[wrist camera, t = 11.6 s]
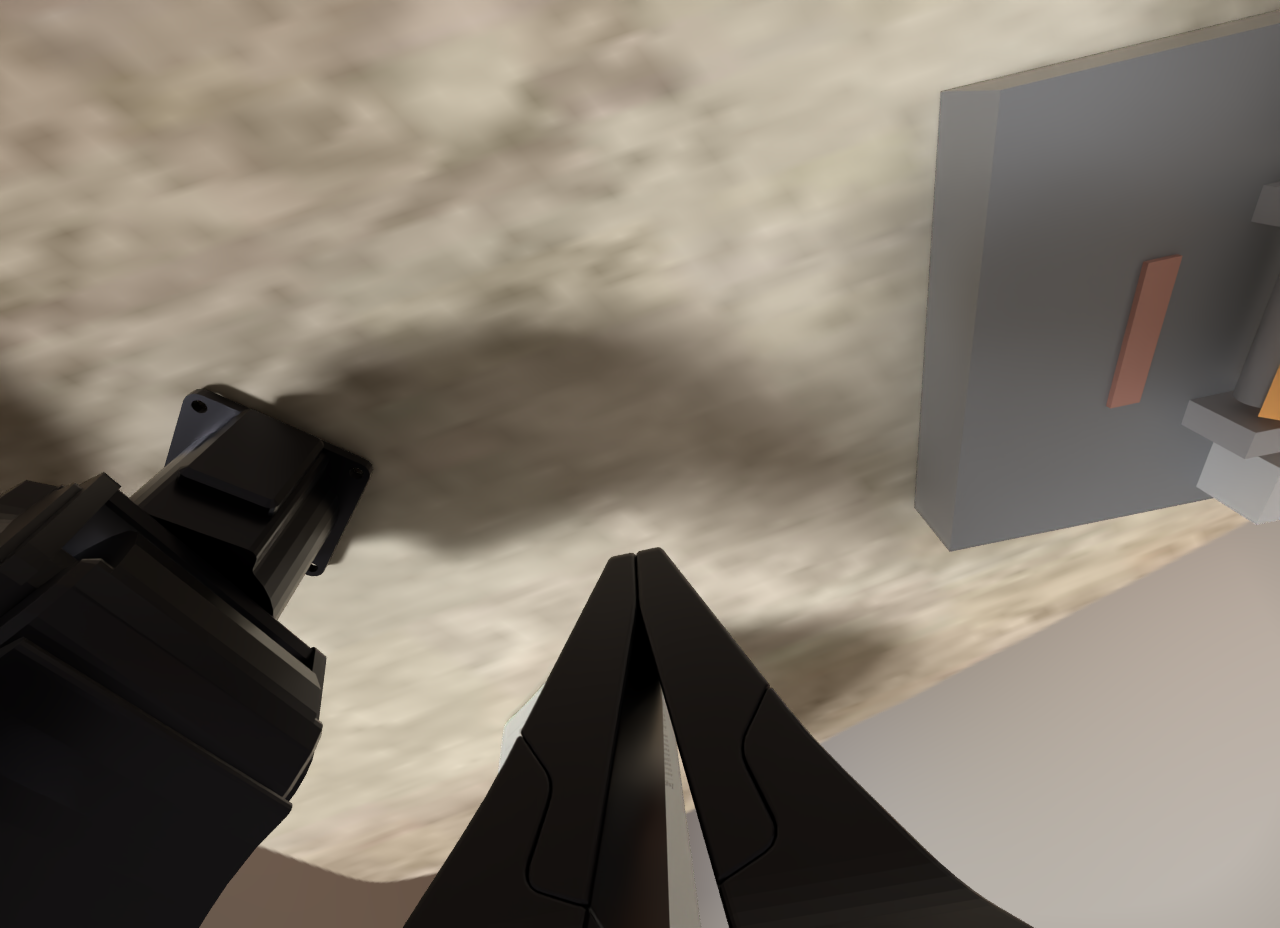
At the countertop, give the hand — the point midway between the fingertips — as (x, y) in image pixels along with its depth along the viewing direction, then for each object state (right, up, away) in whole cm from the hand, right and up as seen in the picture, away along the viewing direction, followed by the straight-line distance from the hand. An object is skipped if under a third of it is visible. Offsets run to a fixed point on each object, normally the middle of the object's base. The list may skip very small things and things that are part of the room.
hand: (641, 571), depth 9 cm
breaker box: (+17, +8, +12) cm, 23 cm away
